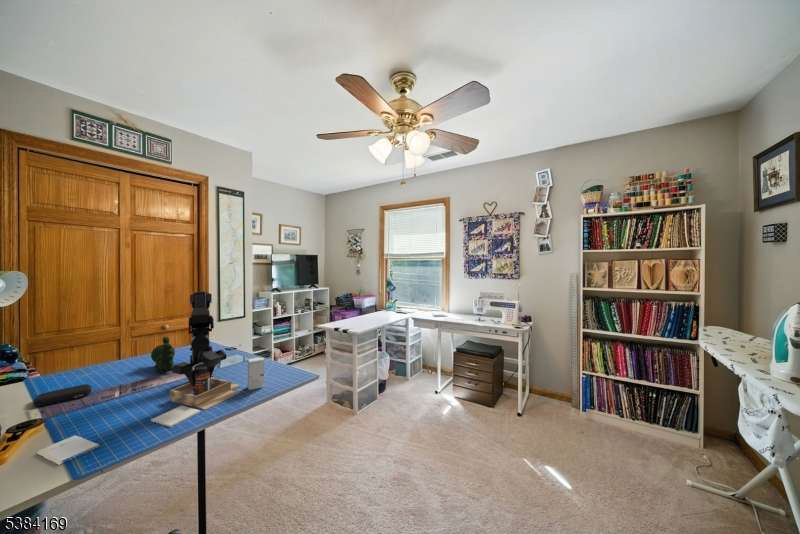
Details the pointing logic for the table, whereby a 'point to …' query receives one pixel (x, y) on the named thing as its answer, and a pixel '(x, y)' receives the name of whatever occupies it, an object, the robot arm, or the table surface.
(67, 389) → the carrying case or bag
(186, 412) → the grey mat
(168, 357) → the dark green lumpy piece
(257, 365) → the skincare box
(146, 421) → the table surface
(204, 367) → the supplement bottle
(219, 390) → the carton
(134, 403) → the table surface
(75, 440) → the external hard drive
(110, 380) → the table surface
